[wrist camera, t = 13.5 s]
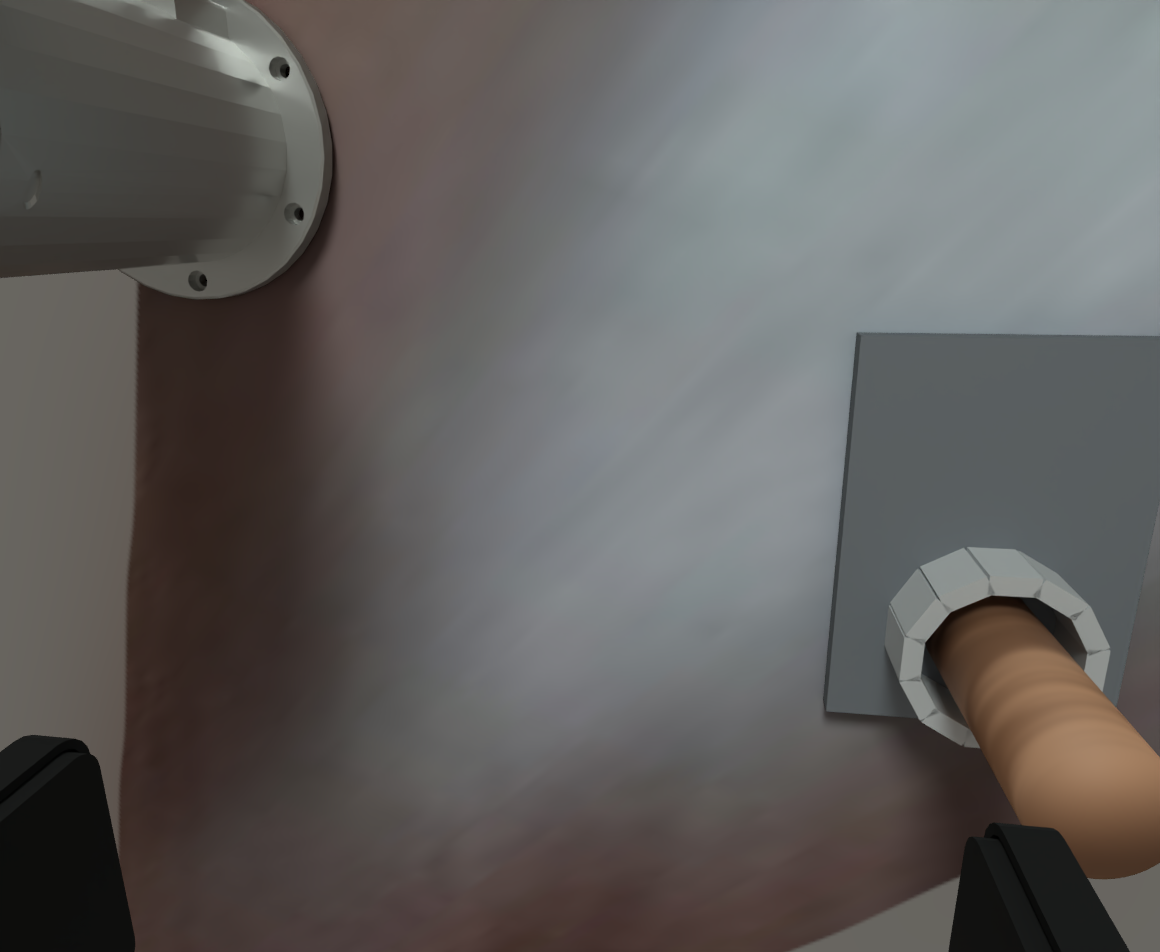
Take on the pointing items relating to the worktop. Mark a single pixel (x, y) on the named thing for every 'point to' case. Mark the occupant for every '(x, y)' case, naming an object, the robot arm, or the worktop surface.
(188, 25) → the robot arm
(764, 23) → the worktop surface
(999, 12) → the worktop surface
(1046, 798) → the rail post
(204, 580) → the worktop surface
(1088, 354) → the bracket board
